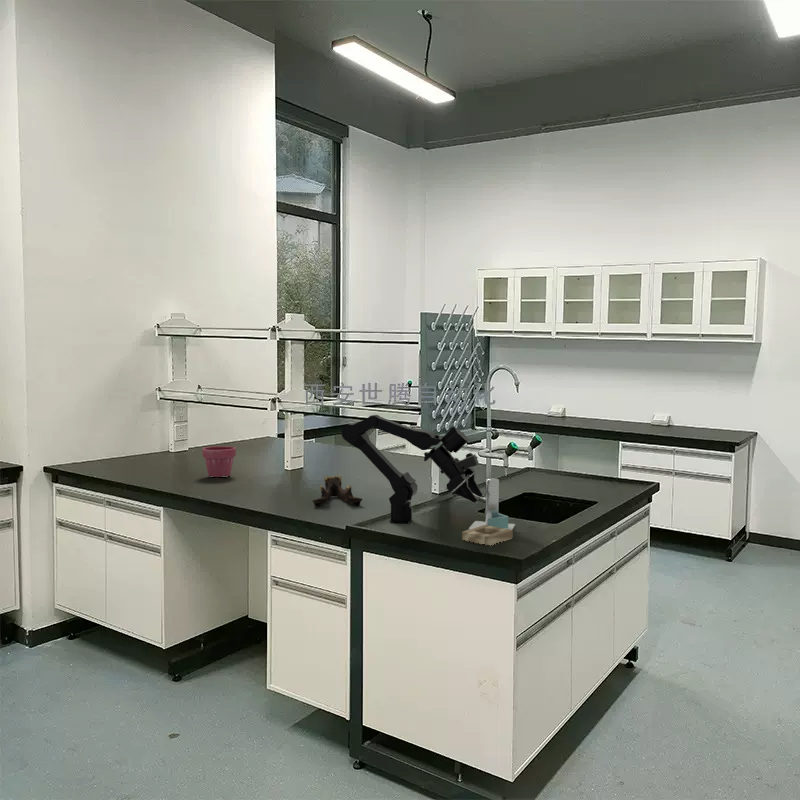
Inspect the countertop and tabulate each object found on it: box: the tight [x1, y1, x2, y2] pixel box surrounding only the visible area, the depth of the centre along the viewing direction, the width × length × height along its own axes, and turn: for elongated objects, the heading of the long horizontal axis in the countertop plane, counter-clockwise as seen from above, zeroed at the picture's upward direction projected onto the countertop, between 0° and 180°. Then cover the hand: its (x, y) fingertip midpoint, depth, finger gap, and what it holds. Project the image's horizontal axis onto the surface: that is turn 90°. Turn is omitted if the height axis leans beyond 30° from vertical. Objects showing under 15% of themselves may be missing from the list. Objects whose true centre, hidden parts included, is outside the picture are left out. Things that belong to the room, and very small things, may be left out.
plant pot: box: [202, 445, 237, 477], centre depth 321 cm, size 14×14×13 cm
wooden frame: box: [461, 525, 514, 547], centre depth 219 cm, size 10×12×2 cm
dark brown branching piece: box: [311, 474, 363, 508], centre depth 272 cm, size 17×25×10 cm
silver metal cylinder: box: [485, 478, 500, 525], centre depth 232 cm, size 4×4×15 cm
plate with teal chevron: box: [468, 512, 516, 531], centre depth 232 cm, size 13×11×4 cm
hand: (478, 498), depth 233 cm, fingers open, 9 cm apart
